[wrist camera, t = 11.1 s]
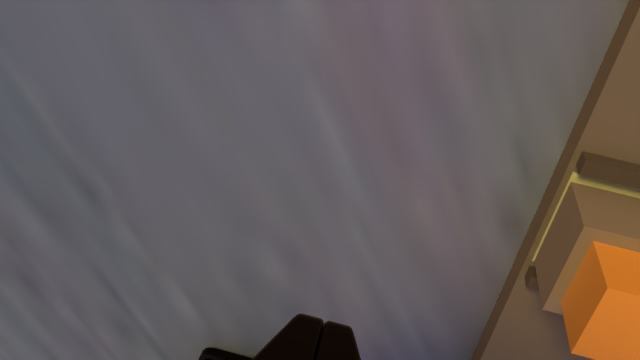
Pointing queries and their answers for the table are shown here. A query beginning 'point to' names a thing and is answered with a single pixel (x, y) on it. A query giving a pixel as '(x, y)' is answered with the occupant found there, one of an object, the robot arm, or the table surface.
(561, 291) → the toggle
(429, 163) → the table surface
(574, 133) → the panel
